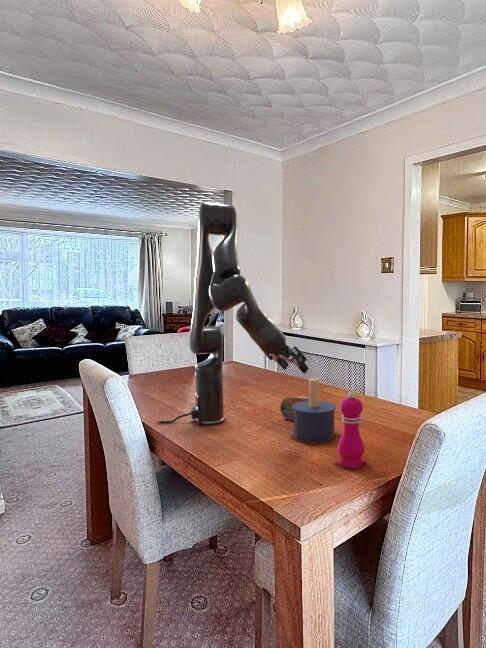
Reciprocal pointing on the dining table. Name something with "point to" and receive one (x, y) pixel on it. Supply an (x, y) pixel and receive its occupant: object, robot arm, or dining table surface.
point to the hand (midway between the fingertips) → (296, 369)
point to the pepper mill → (351, 433)
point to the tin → (290, 406)
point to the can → (313, 426)
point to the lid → (314, 401)
